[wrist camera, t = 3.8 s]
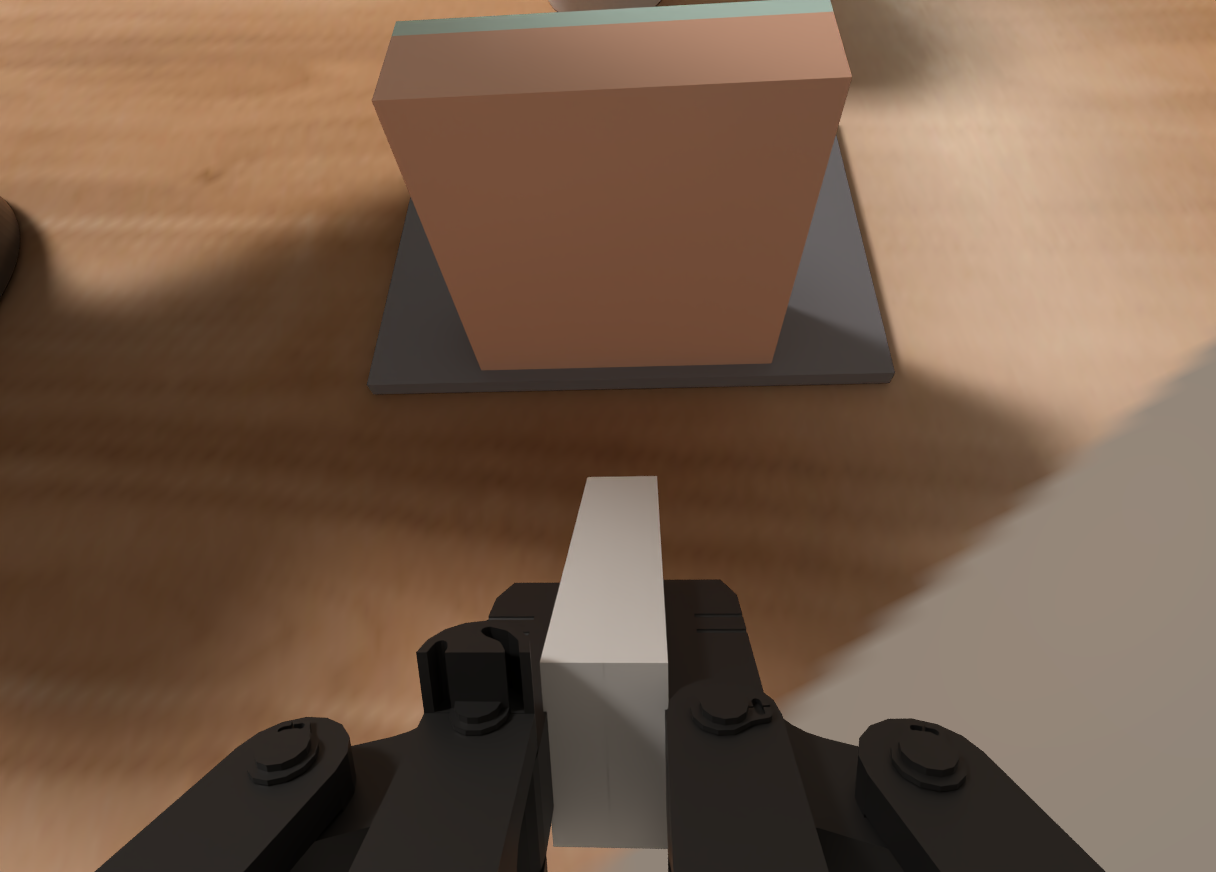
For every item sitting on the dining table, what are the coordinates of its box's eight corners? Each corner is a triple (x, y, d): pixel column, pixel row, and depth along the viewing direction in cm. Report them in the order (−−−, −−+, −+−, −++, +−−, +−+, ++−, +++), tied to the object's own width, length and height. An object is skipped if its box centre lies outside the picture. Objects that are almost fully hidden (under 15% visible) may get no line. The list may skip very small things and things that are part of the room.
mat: (373, 394, 23) (366, 384, 22) (430, 139, 30) (426, 127, 29) (889, 382, 22) (895, 372, 21) (826, 121, 29) (829, 108, 28)
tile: (481, 370, 22) (371, 100, 14) (490, 303, 24) (396, 21, 15) (771, 363, 22) (852, 77, 13) (762, 295, 23) (829, -3, 14)
